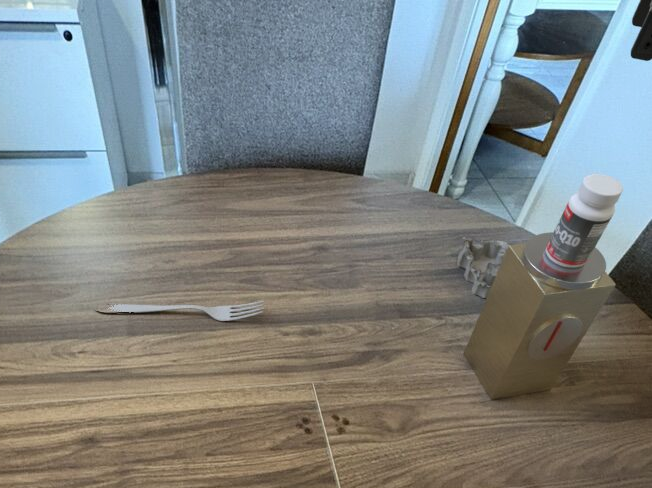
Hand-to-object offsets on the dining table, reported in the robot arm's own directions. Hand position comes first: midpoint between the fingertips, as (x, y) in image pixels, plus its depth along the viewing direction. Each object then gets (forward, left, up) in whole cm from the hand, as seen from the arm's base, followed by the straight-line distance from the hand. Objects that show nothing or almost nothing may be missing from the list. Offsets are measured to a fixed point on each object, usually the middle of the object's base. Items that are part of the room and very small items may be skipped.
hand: (640, 41), depth 63 cm
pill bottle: (+7, +12, -16) cm, 21 cm away
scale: (+7, +12, -34) cm, 37 cm away
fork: (+49, -9, -34) cm, 60 cm away
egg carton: (+1, -8, -34) cm, 35 cm away
